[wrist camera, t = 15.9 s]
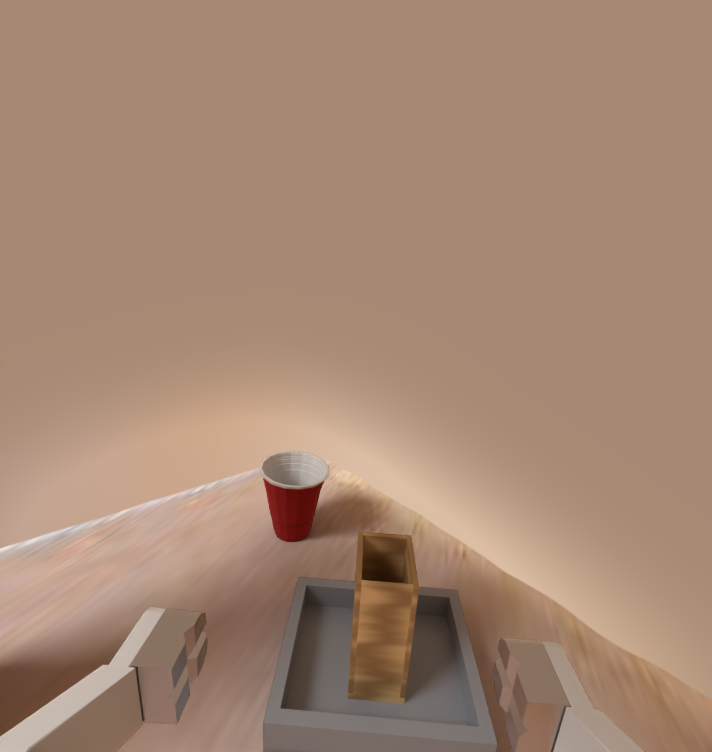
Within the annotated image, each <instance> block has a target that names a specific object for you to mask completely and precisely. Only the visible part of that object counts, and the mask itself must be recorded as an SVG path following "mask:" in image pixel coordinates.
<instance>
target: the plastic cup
mask: <svg viewBox="0 0 712 752" xmlns="http://www.w3.org/2000/svg"><path fill="white" fill-rule="evenodd" d="M260 472H261V474H262V476H263V480H264V483H265V487H266V492H267V497H268V503H269V509H270V514H271V517H272V521H273V527H274V530H275V533H276V535H277V537H278V538H280V539H281V540H284V541H287V542H295V541H299V540H302V539H303V538H305V537H306V536H307V535H308V534H309V532H310V529H311V526H312V521H313V516H314V515H315V510H316V506H317V502H318V498H319V494H320V490H321V488H322V484H323V483H324V481H325V479H326V478H327V477H328V475H329V466H328V465H327V464H326V462H325V461H324V460H323V459H321V458H319V457H317V456H316V455H313V454H310V453H306V452H300V451H284V452H278V453H275V454H272V455H269V456H268V457H266V458H265V459H264V460H263V461H262V462H261V465H260Z"/></svg>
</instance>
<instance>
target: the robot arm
mask: <svg viewBox="0 0 712 752" xmlns="http://www.w3.org/2000/svg"><path fill="white" fill-rule="evenodd" d="M205 624H206V616H205V613H202V612H194V611H185V610H177V609H167V608H157V607H150V608H149V609H147V610H146V611H145V612H144V614H143V615H142V616H141V618H140V619H139V621H138V622H137V624H136V625H135V627H134V628H133V630H132V631H131V633H130V634H129V636H128V637H127V639H126V640H125V642H124V643H123V645H122V646H121V647H120V649H119V650H118V652H117V653H116V655H115V656H114V658H113V659H112V661H111V662H110V664H109V665H102V666H100V667H99V668H98V669H96V670H95V671H93V672H92V673H90V674H89V675H88V676H86V677H85V678H83V679H82V680H80V681H79V682H78V683H76V684H75V685H73V686H72V687H70V688H69V689H68V690H66V691H65V692H63V693H62V694H60V695H59V696H58V697H56V698H55V699H53V700H52V701H50V702H49V703H47V704H46V705H45V706H43V707H42V708H40V709H39V710H37V711H36V712H35V713H33V714H32V715H30V716H29V717H27V718H26V719H25V720H23V721H22V722H20V723H19V724H17V725H16V726H15V727H13V728H12V729H10V730H9V731H7V732H6V733H5V734H3V735H2V736H0V752H116V751H117V750H118V749H119V748H120V747H121V746H122V745H123V744H124V743H125V742H126V741H127V740H128V739H129V738H130V737H131V736H132V735H133V734H134V733H135V732H136V731H137V730H138V729H139V728H140V727H141V726H142V725H143V722H146V723H163V724H177V723H178V721H179V719H180V716H181V714H182V712H183V710H184V707H185V705H186V703H187V700H188V698H189V696H190V690H189V684H190V683H191V682H192V681H193V680H195V679H196V678H197V677H198V675H199V673H200V670H201V668H202V666H203V662H204V659H205V655H206V650H207V635H206V634H205V632H204V631H203V628H204V626H205ZM498 650H499V653H500V657H499V658H498V659H497V660H495V665H494V686H495V691H496V695H497V699H498V703H499V705H500V706H501V707H502V708H503V710H504V711H505V712H506V713H507V716H506V721H505V727H506V730H507V734H508V737H509V740H510V744H511V747H512V750H513V752H645V751H644V750H643V749H642V748H641V747H639V746H638V745H637V744H636V743H635V742H634V741H633V740H632V739H631V738H630V737H629V736H628V735H627V734H626V733H625V732H623V731H622V730H621V729H620V728H619V727H618V726H617V725H616V724H615V723H614V722H613V721H612V720H611V719H610V718H609V717H608V716H606V715H605V714H604V713H603V712H602V711H601V710H596V709H594V707H593V705H592V703H591V701H590V699H589V697H588V695H587V693H586V691H585V690H584V688H583V686H582V684H581V682H580V680H579V678H578V676H577V674H576V672H575V670H574V668H573V666H572V664H571V662H570V660H569V658H568V656H567V654H566V652H565V650H564V649H563V647H562V645H561V644H560V643H559V642H547V641H537V640H526V639H512V638H501V640H500V641H499V645H498Z"/></svg>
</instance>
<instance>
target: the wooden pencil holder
mask: <svg viewBox="0 0 712 752" xmlns="http://www.w3.org/2000/svg"><path fill="white" fill-rule="evenodd" d="M418 593H419V586H418V579H417V572H416V565H415V558H414V551H413V545H412V538H411V536H409V535H396V534H384V533H371V532H359V535H358V548H357V562H356V576H355V590H354V604H353V618H352V632H351V648H350V665H349V682H348V699H356V700H367V701H378V702H389V703H400V704H404V701H405V694H406V686H407V678H408V670H409V663H410V655H411V647H412V639H413V632H414V624H415V616H416V609H417V601H418Z"/></svg>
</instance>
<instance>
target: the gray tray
mask: <svg viewBox="0 0 712 752" xmlns="http://www.w3.org/2000/svg"><path fill="white" fill-rule="evenodd" d="M354 590H355V582H354V581H342V580H330V579H318V578H306V577H298V581H297V586H296V590H295V594H294V598H293V602H292V606H291V610H290V614H289V618H288V622H287V627H286V631H285V635H284V639H283V643H282V647H281V651H280V655H279V659H278V663H277V667H276V672H275V676H274V680H273V684H272V688H271V692H270V696H269V700H268V704H267V708H266V713H265V717H264V721H263V752H496V750H497V745H498V744H497V740H496V737H495V733H494V729H493V725H492V721H491V718H490V714H489V710H488V706H487V702H486V699H485V695H484V691H483V687H482V683H481V680H480V676H479V672H478V668H477V664H476V661H475V657H474V653H473V649H472V645H471V641H470V638H469V634H468V630H467V626H466V622H465V619H464V615H463V611H462V607H461V603H460V600H459V596H458V592H457V590H449V589H437V588H425V587H419V593H418V601H417V609H416V616H415V624H414V632H413V639H412V647H411V655H410V663H409V670H408V678H407V686H406V694H405V701H404V704H400V703H389V702H378V701H367V700H356V699H348V682H349V665H350V648H351V632H352V618H353V604H354Z"/></svg>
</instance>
